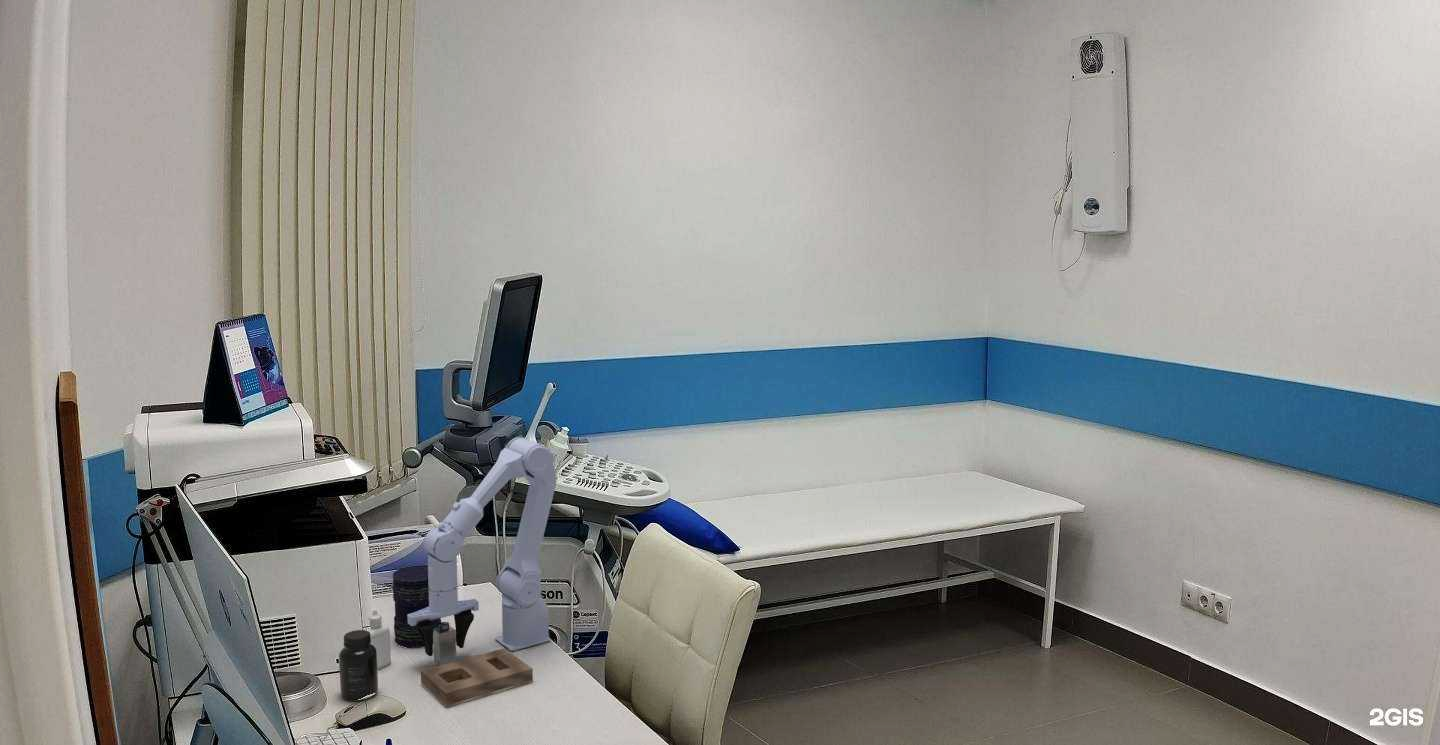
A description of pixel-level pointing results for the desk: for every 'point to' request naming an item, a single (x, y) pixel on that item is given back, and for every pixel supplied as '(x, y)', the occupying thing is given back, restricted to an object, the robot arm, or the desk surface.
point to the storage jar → (410, 603)
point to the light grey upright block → (444, 644)
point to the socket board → (476, 677)
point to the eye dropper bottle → (380, 640)
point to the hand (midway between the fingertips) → (444, 650)
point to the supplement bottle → (358, 666)
